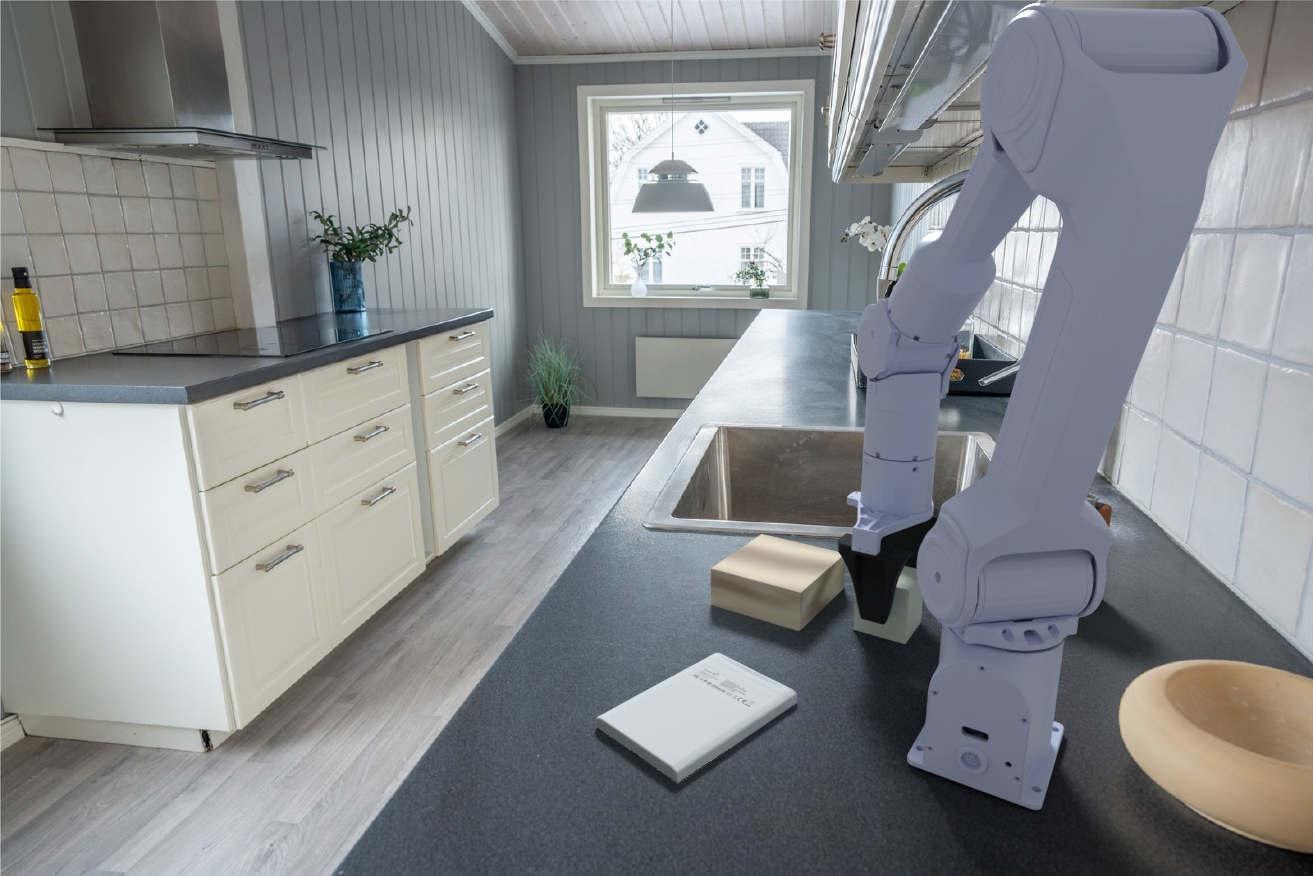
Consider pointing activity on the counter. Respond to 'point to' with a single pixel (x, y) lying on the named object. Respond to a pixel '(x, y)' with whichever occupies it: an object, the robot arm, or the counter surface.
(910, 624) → the sage block
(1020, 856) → the counter surface
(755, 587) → the birch block
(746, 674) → the external hard drive
